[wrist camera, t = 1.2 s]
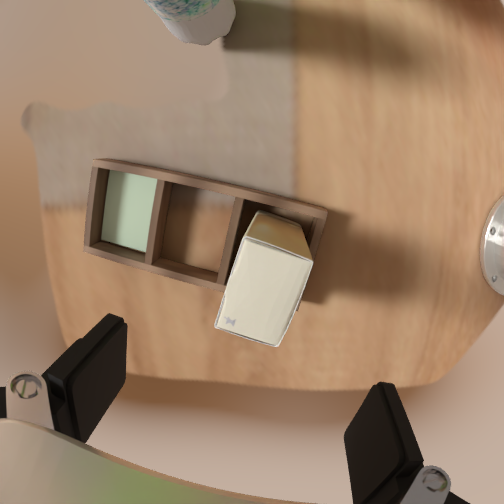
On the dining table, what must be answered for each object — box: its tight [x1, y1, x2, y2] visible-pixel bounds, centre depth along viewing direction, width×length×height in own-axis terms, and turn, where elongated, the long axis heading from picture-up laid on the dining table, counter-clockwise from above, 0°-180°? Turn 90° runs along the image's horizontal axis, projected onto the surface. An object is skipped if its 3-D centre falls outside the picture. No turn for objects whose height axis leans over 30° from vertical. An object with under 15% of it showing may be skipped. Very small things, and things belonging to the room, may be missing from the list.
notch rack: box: [83, 159, 328, 311], centre depth 29 cm, size 22×9×2 cm, turn 76°
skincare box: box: [214, 210, 313, 347], centre depth 24 cm, size 6×4×12 cm
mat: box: [101, 170, 157, 252], centre depth 30 cm, size 6×7×1 cm
